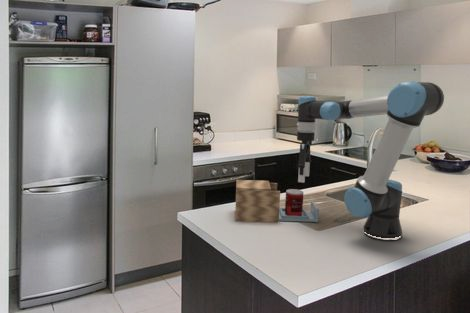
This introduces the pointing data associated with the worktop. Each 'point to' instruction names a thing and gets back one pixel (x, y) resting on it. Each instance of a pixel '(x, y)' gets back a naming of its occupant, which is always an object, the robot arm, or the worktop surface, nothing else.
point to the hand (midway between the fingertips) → (303, 179)
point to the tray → (306, 215)
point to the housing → (257, 201)
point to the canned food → (294, 202)
